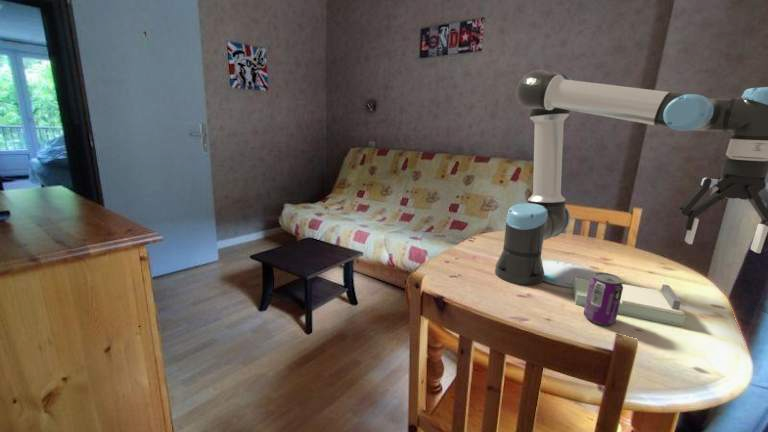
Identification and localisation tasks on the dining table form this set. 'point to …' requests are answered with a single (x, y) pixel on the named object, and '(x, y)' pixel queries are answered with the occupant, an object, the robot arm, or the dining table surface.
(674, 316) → the serving tray
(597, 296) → the beverage can
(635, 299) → the lid
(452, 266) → the dining table surface
